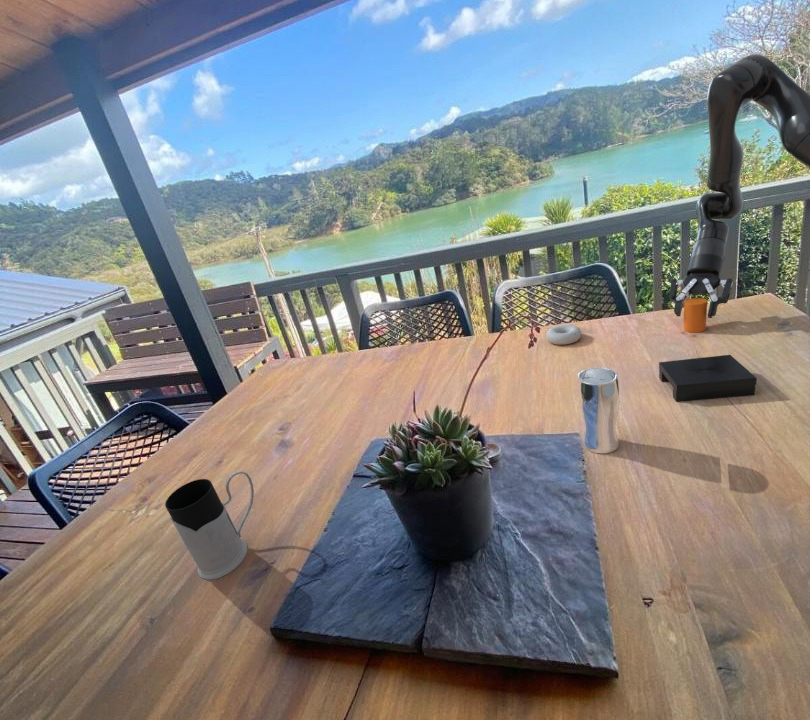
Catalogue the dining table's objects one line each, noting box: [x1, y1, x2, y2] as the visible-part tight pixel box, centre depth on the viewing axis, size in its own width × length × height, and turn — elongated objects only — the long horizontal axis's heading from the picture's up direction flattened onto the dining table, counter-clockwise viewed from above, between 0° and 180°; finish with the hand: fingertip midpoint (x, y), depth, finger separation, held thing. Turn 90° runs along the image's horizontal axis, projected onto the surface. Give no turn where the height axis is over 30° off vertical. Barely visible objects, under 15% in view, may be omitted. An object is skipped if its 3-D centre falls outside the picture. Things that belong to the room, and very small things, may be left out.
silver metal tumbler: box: [577, 366, 621, 455], centre depth 81 cm, size 7×7×15 cm
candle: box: [683, 297, 708, 334], centre depth 116 cm, size 5×5×8 cm
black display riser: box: [658, 354, 758, 403], centre depth 92 cm, size 14×11×4 cm
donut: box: [545, 324, 582, 346], centre depth 129 cm, size 10×4×10 cm
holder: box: [164, 470, 255, 581], centre depth 77 cm, size 9×14×15 cm, turn 134°
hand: (693, 316), depth 115 cm, fingers open, 6 cm apart
